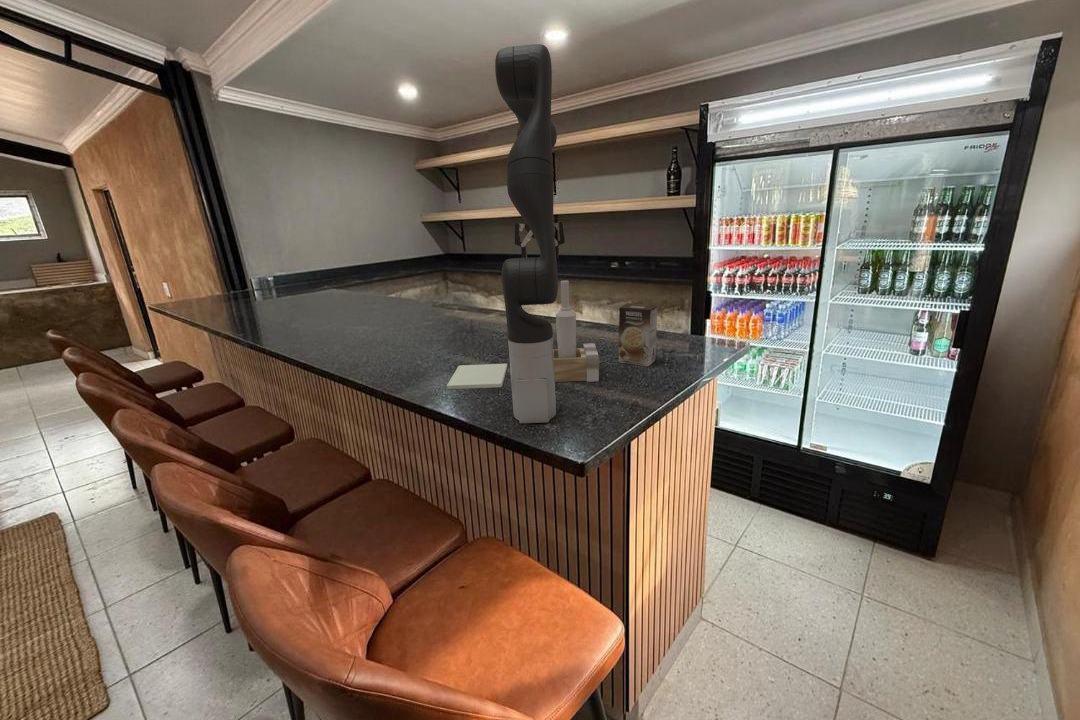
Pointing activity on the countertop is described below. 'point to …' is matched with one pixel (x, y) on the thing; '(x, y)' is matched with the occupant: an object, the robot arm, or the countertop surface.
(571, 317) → the bottle
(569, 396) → the countertop surface
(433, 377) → the countertop surface
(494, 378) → the sage board
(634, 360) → the coffee box
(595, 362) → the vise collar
